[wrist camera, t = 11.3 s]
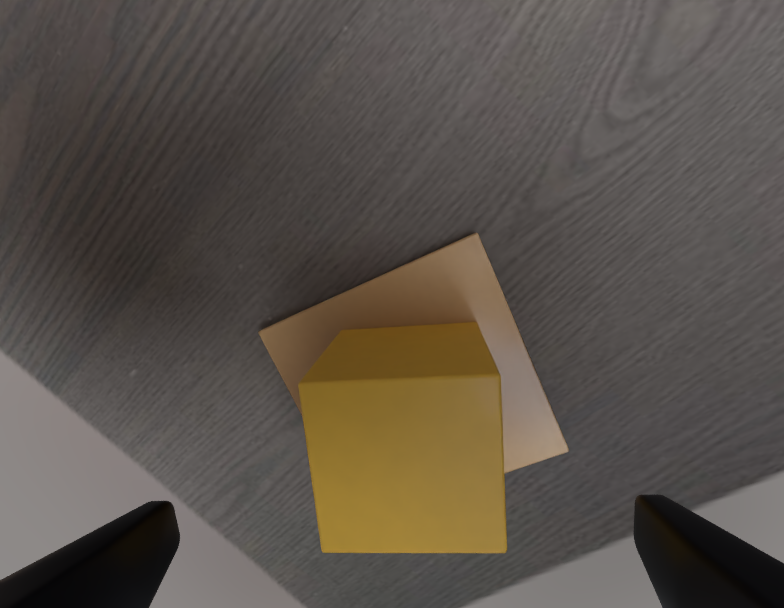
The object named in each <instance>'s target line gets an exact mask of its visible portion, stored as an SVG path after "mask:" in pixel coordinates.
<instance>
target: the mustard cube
mask: <svg viewBox="0 0 784 608" xmlns="http://www.w3.org/2000/svg"><path fill="white" fill-rule="evenodd" d="M298 388H299V395H300V402H301V409H302V416H303V423H304V430H305V437H306V444H307V451H308V458H309V465H310V472H311V479H312V486H313V493H314V500H315V507H316V515H317V522H318V529H319V536H320V543H321V549H322V552H324V553H506V551H507V532H506V504H505V476H504V448H503V420H502V392H501V375H500V373H499V371H498V368H497V366H496V364H495V362H494V359H493V357H492V355H491V353H490V350H489V348H488V346H487V344H486V341H485V339H484V337H483V335H482V332H481V330H480V328H479V326H478V324H477V322H467V323H451V324H434V325H417V326H401V327H384V328H368V329H351V330H341V331H340V332H339V334H338V335H337V336H336V337H335V338H334V340H333V341H332V342H331V343H330V345H329V346H328V347H327V348H326V350H325V351H324V352H323V353H322V355H321V356H320V357H319V358H318V360H317V361H316V362H315V363H314V364H313V366H312V367H311V368H310V369H309V371H308V372H307V373H306V374H305V376H304V377H303V378H302V379H301V381H300V382H299V384H298Z"/></svg>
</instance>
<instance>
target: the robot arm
mask: <svg viewBox="0 0 784 608" xmlns="http://www.w3.org/2000/svg"><path fill="white" fill-rule="evenodd" d="M634 540H635V544H636V548H637V550H638V553H639V555H640V557H641V559H642V562H643V564H644V566H645V568H646V571H647V573H648V575H649V578H650V580H651V582H652V584H653V587H654V589H655V591H656V593H657V596H658V598H659V600H660V603H661V605H662V607H663V608H784V563H782V562H780V561H778V560H777V559H775V558H773V557H771V556H769V555H768V554H766V553H764V552H762V551H760V550H759V549H757V548H755V547H754V546H752V545H750V544H748V543H747V542H745V541H743V540H741V539H739V538H738V537H736V536H734V535H732V534H730V533H729V532H727V531H725V530H724V529H722V528H720V527H718V526H716V525H715V524H713V523H711V522H709V521H708V520H706V519H704V518H702V517H700V516H699V515H697V514H695V513H693V512H692V511H690V510H688V509H686V508H685V507H683V506H681V505H679V504H678V503H676V502H674V501H672V500H670V499H669V498H667V497H665V496H663V495H639V496H637V497H636V500H635V512H634ZM179 541H180V533H179V529H178V524H177V520H176V516H175V510H174V507H173V505H172V503H171V502H169V501H151V502H148V503H146V504H144V505H142V506H140V507H138V508H136V509H134V510H132V511H130V512H129V513H127V514H125V515H123V516H121V517H119V518H117V519H115V520H114V521H112V522H110V523H108V524H106V525H104V526H102V527H100V528H98V529H97V530H94V531H93V532H91V533H89V534H87V535H85V536H83V537H81V538H79V539H77V540H76V541H74V542H72V543H70V544H68V545H66V546H64V547H63V548H61V549H59V550H57V551H55V552H53V553H51V554H49V555H47V556H45V557H44V558H42V559H40V560H38V561H36V562H34V563H32V564H30V565H28V566H26V567H25V568H23V569H21V570H19V571H17V572H15V573H13V574H11V575H10V576H7V577H6V578H4V579H2V580H0V608H149V606H150V604H151V602H152V600H153V598H154V596H155V594H156V592H157V590H158V588H159V586H160V584H161V582H162V579H163V577H164V576H165V573H166V572H167V569H168V567H169V565H170V563H171V561H172V559H173V557H174V555H175V553H176V551H177V549H178V546H179Z"/></svg>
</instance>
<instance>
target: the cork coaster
mask: <svg viewBox="0 0 784 608" xmlns="http://www.w3.org/2000/svg"><path fill="white" fill-rule="evenodd" d="M467 322H477V324H478V326H479V328H480V330H481V332H482V335H483V337H484V339H485V341H486V344H487V346H488V348H489V350H490V353H491V355H492V357H493V359H494V362H495V364H496V366H497V368H498V371H499V373H500V375H501V392H502V420H503V448H504V473H507V472H510V471H513V470H516V469H519V468H522V467H525V466H528V465H531V464H534V463H536V462H539V461H542V460H545V459H548V458H551V457H554V456H557V455H560V454H563V453H566V452H569V448H568V446H567V444H566V441H565V439H564V436H563V434H562V432H561V429H560V427H559V425H558V422H557V420H556V417H555V415H554V413H553V410H552V408H551V406H550V403H549V401H548V398H547V396H546V394H545V391H544V389H543V387H542V384H541V382H540V379H539V377H538V375H537V372H536V370H535V368H534V365H533V363H532V360H531V358H530V356H529V353H528V351H527V349H526V346H525V344H524V341H523V339H522V337H521V334H520V332H519V330H518V327H517V325H516V322H515V320H514V318H513V315H512V313H511V311H510V308H509V306H508V303H507V301H506V299H505V296H504V294H503V292H502V289H501V287H500V284H499V282H498V280H497V277H496V275H495V273H494V270H493V268H492V265H491V263H490V261H489V258H488V256H487V254H486V251H485V249H484V246H483V244H482V242H481V239H480V237H479V235H478V233H473V234H471V235H469V236H467V237H464V238H462V239H460V240H458V241H456V242H453V243H451V244H449V245H447V246H445V247H442V248H440V249H438V250H436V251H434V252H431V253H429V254H427V255H425V256H423V257H420V258H418V259H416V260H414V261H412V262H409V263H407V264H405V265H403V266H400V267H398V268H396V269H394V270H392V271H389V272H387V273H385V274H383V275H381V276H378V277H376V278H374V279H372V280H370V281H367V282H365V283H363V284H361V285H359V286H356V287H354V288H352V289H350V290H348V291H345V292H343V293H341V294H339V295H336V296H334V297H332V298H330V299H328V300H325V301H323V302H321V303H319V304H317V305H314V306H312V307H310V308H308V309H306V310H303V311H301V312H299V313H297V314H295V315H292V316H290V317H288V318H286V319H284V320H281V321H279V322H277V323H275V324H272V325H270V326H268V327H266V328H264V329H262V330H260V331H259V332H258V333H259V335H260V337H261V339H262V341H263V343H264V345H265V347H266V349H267V350H268V352H269V354H270V356H271V358H272V360H273V362H274V364H275V366H276V367H277V369H278V371H279V373H280V375H281V377H282V379H283V381H284V383H285V384H286V386H287V388H288V390H289V392H290V394H291V396H292V398H293V399H294V401H295V403H296V405H297V407H298V409H299V411H300V413H301V415H302V409H301V402H300V395H299V388H298V384H299V382H300V381H301V379H302V378H303V377H304V376H305V374H306V373H307V372H308V371H309V369H310V368H311V367H312V366H313V364H314V363H315V362H316V361H317V360H318V358H319V357H320V356H321V355H322V353H323V352H324V351H325V350H326V348H327V347H328V346H329V345H330V343H331V342H332V341H333V340H334V338H335V337H336V336H337V335H338V334H339V332H340V331H341V330H351V329H368V328H384V327H401V326H417V325H434V324H451V323H467Z"/></svg>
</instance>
